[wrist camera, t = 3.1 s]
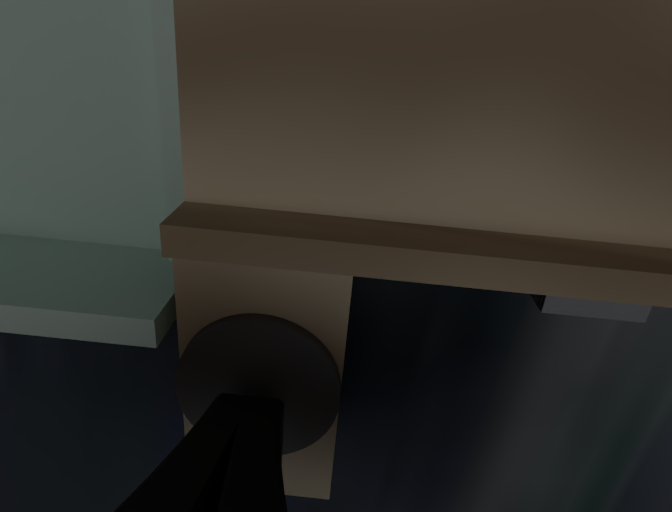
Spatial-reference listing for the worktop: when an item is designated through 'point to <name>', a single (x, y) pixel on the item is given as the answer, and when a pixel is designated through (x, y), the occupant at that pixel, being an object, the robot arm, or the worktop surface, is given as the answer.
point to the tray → (88, 168)
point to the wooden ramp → (403, 177)
